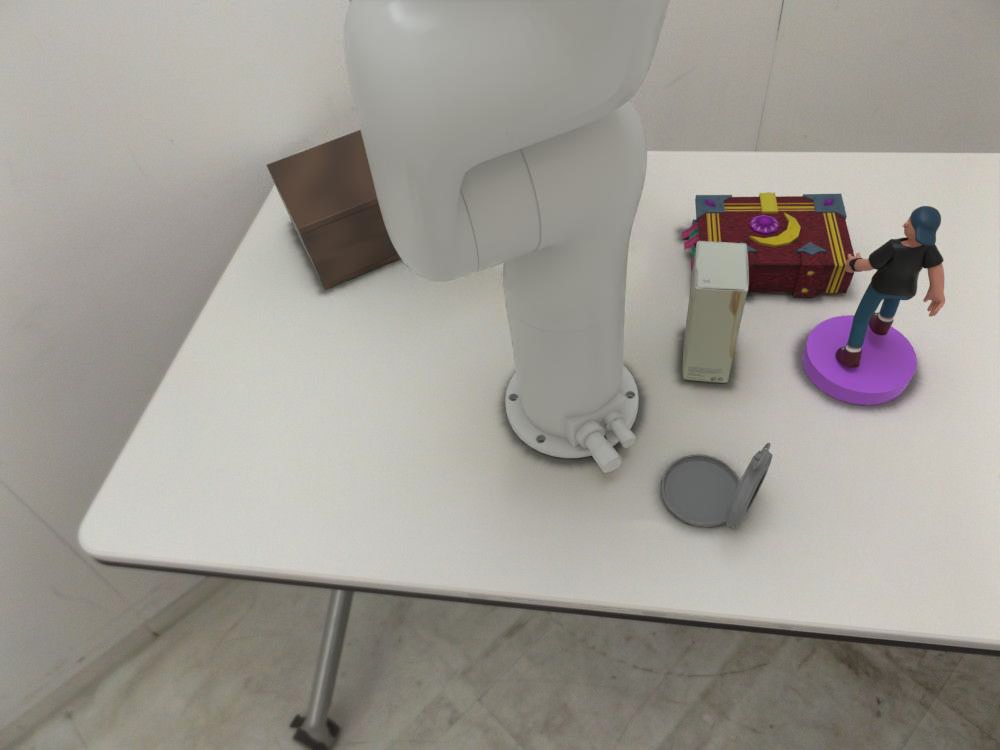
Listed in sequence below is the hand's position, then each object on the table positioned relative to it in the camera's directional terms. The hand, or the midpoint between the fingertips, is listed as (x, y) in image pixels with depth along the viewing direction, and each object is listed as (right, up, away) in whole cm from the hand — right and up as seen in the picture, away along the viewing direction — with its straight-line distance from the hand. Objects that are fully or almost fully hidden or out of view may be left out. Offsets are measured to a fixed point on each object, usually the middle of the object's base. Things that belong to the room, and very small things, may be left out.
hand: (421, 86), depth 76 cm
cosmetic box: (+29, -30, -8) cm, 43 cm away
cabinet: (-8, -14, +10) cm, 19 cm away
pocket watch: (+27, -43, -18) cm, 53 cm away
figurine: (+42, -31, -11) cm, 54 cm away
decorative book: (+37, -20, -1) cm, 42 cm away
